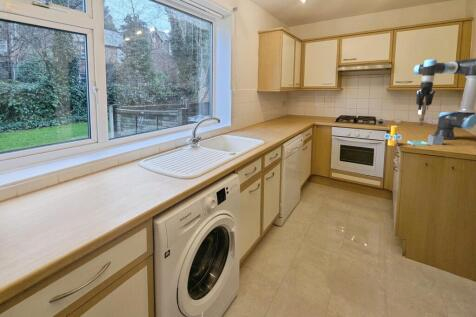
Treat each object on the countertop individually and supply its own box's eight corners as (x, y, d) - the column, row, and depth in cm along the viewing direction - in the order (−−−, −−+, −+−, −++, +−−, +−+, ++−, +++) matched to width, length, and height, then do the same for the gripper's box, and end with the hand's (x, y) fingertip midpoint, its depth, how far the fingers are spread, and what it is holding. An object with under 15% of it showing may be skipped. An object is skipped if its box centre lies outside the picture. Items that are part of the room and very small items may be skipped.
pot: (436, 144, 216) (438, 134, 214) (442, 146, 209) (443, 136, 207) (427, 144, 217) (428, 134, 215) (432, 146, 210) (433, 136, 208)
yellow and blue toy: (402, 147, 208) (404, 127, 204) (387, 146, 210) (389, 127, 206) (396, 143, 220) (399, 125, 216) (382, 143, 222) (384, 124, 218)
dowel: (419, 124, 211) (422, 101, 207) (423, 124, 209) (427, 102, 204) (417, 124, 209) (421, 102, 205) (422, 125, 207) (425, 102, 203)
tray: (421, 144, 217) (422, 141, 216) (428, 146, 207) (429, 143, 207) (406, 144, 218) (407, 140, 218) (412, 146, 209) (413, 143, 208)
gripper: (433, 81, 205) (428, 113, 211) (413, 82, 204) (408, 114, 210) (441, 81, 198) (436, 114, 204) (420, 81, 197) (415, 114, 203)
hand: (422, 114), depth 207 cm, fingers closed on dowel, 3 cm apart
